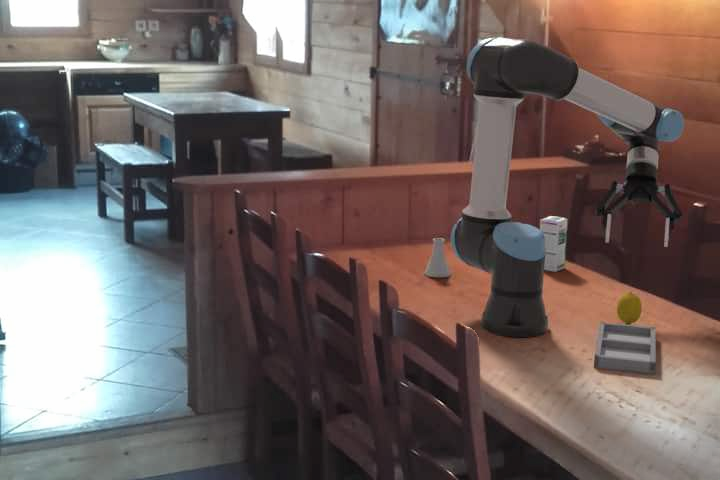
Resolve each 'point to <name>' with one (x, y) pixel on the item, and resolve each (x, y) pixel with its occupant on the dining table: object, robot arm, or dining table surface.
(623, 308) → the lemon
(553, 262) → the syrup box
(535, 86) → the robot arm
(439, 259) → the flask
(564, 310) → the dining table surface
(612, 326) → the grey divided tray
